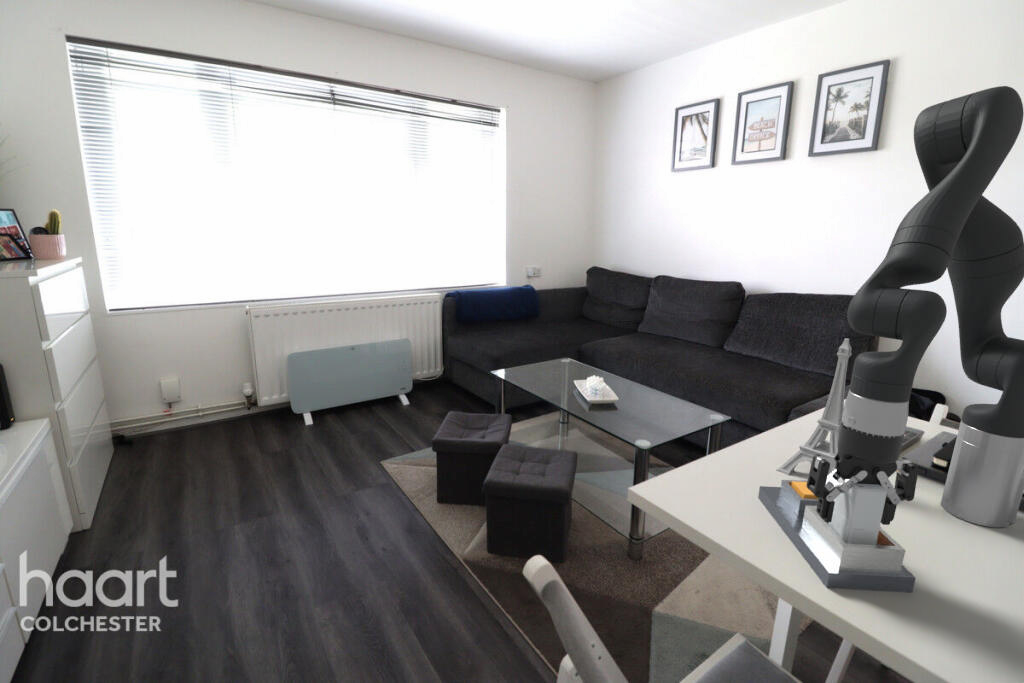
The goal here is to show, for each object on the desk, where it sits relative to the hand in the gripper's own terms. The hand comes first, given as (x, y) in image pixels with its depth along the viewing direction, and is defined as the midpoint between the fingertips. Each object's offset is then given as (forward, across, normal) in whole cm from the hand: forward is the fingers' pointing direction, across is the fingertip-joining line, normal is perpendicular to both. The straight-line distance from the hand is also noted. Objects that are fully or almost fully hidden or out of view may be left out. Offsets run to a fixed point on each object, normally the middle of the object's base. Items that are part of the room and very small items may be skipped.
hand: (853, 520), depth 75 cm
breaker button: (+5, 0, -12) cm, 13 cm away
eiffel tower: (+8, -12, -29) cm, 32 cm away
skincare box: (+5, 0, 0) cm, 5 cm away
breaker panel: (+7, 0, -6) cm, 10 cm away
